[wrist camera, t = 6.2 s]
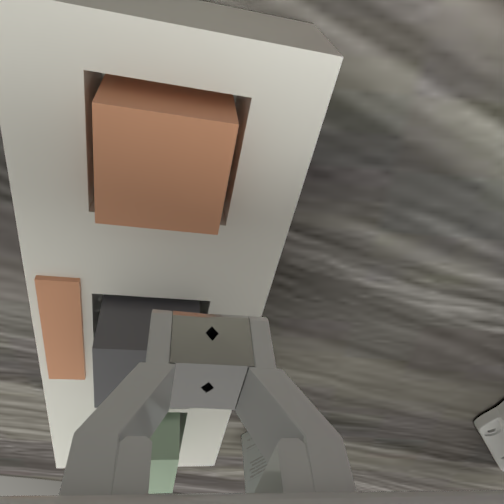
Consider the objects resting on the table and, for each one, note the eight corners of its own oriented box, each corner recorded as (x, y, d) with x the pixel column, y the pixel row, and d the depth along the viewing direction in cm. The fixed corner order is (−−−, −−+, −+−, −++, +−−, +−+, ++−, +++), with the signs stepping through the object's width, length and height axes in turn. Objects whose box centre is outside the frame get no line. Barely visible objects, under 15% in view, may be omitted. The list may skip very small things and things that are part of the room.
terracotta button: (229, 77, 19) (238, 124, 16) (213, 175, 22) (217, 234, 19) (112, 57, 18) (91, 102, 14) (112, 163, 21) (95, 223, 18)
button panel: (314, 23, 20) (345, 59, 16) (211, 409, 39) (214, 469, 35) (25, -37, 17) (-27, -13, 13) (70, 407, 37) (55, 472, 33)
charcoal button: (199, 281, 25) (200, 352, 21) (189, 337, 28) (189, 408, 24) (107, 274, 24) (91, 348, 20) (108, 333, 27) (94, 407, 23)
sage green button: (180, 390, 32) (179, 459, 28) (174, 426, 35) (172, 492, 31) (108, 389, 30) (96, 460, 27) (108, 425, 34) (98, 494, 30)
